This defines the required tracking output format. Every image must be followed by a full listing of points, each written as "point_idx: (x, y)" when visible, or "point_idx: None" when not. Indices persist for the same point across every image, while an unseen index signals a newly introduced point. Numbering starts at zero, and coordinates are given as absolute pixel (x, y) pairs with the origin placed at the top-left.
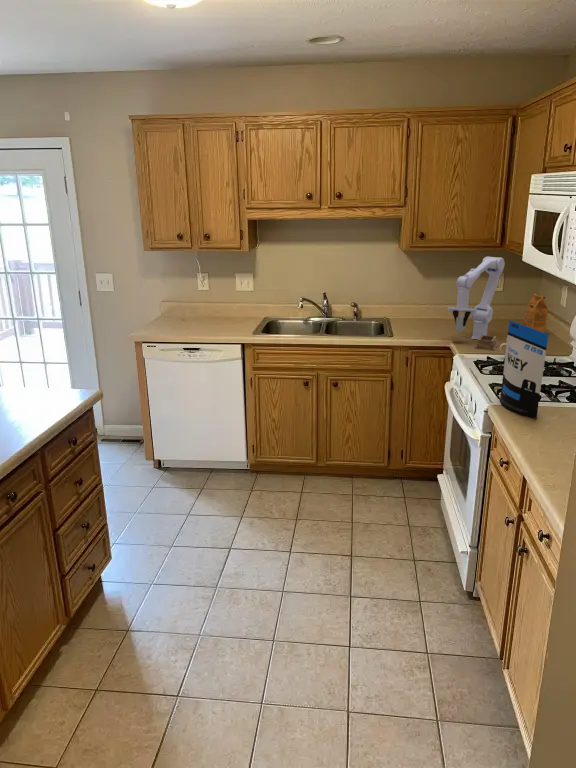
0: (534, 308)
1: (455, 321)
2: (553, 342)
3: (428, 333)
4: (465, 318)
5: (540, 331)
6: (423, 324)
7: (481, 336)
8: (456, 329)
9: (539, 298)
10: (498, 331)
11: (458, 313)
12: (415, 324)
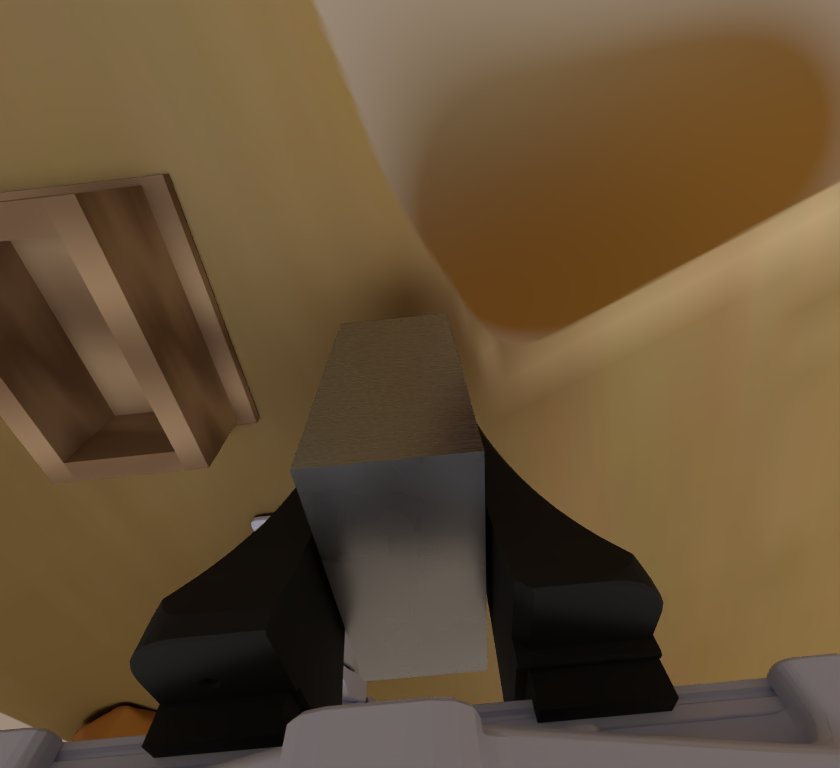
0: None
1: (494, 453)
2: None
3: (693, 506)
4: (291, 524)
5: (78, 739)
6: (715, 659)
7: (161, 408)
8: (430, 321)
9: None
10: None
11: (500, 672)
12: (765, 644)
